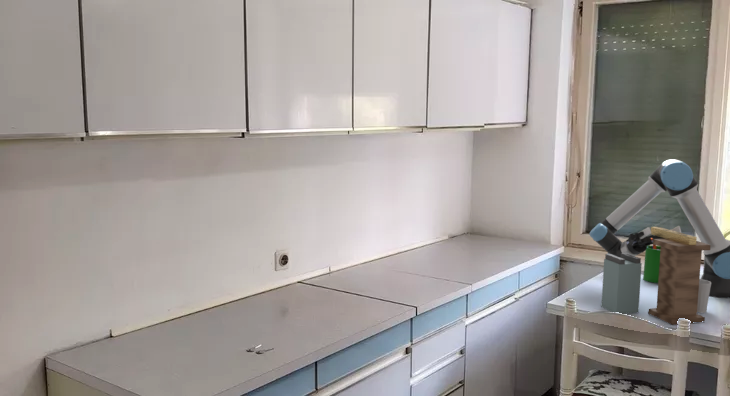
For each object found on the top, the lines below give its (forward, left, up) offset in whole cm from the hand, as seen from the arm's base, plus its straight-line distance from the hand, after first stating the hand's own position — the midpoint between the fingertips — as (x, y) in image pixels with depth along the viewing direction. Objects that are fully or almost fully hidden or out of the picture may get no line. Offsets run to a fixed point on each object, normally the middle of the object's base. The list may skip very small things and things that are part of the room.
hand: (664, 229), depth 255 cm
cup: (-15, -5, -33) cm, 37 cm away
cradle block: (+15, +4, -33) cm, 37 cm away
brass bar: (-2, +4, -3) cm, 5 cm away
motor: (-4, -50, -33) cm, 60 cm away
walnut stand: (-5, +8, -33) cm, 34 cm away
